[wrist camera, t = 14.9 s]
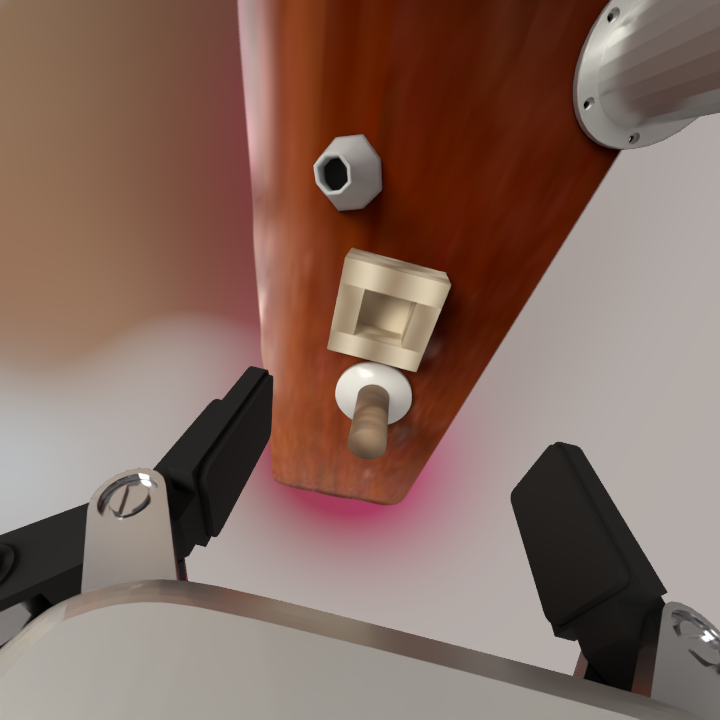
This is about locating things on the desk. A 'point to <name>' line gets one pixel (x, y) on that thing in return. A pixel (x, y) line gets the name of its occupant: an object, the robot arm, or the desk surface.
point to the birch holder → (386, 309)
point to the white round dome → (375, 375)
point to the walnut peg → (370, 423)
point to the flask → (349, 172)
